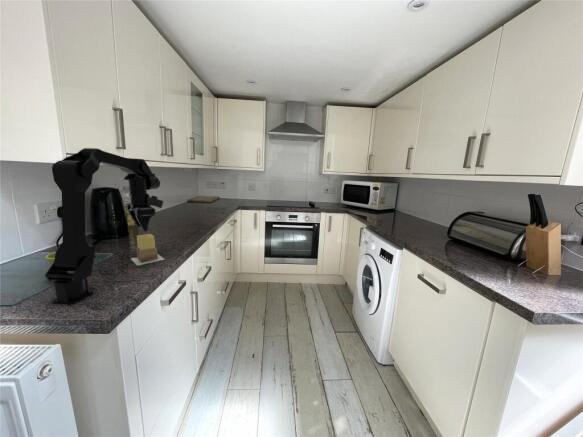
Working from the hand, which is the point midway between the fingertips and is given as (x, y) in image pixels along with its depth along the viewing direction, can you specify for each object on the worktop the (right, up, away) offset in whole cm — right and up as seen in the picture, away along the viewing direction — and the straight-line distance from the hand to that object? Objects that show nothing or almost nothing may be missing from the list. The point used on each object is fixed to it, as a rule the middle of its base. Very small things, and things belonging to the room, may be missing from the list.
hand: (142, 228), depth 96 cm
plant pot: (-16, -16, -15) cm, 27 cm away
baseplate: (+1, -13, +2) cm, 13 cm away
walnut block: (+1, -13, +1) cm, 13 cm away
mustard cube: (+2, -8, 0) cm, 8 cm away
